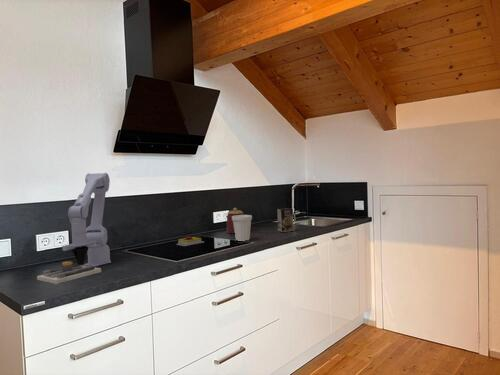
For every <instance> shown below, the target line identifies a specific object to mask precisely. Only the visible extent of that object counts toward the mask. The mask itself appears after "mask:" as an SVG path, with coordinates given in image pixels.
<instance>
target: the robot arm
mask: <svg viewBox="0 0 500 375" xmlns="http://www.w3.org/2000/svg"><path fill="white" fill-rule="evenodd" d="M84 181H85V187H84V188H83V191H82V193H79V195H78V196H77V197H76V198H77V199H76V200H75V201H74V204H73V205H71V206H70V207H69V208H68V211H67V216H68V218H69V223H70V224H71V225H70V226H71V240H72V241H71V243H70V244H65V245H62V246H61V247H62V249H61V250H62V251H64V252H66V251H69V250H71V252H72V254H73V255H74V257H75V259H76V263H77V265H78V264H79V265H84V266H90V267H99V266H102V265H106V264H109V263H112V261H111V256H110V255H111V253H110V252H111V251H110V247H109V245H108V244H107V243H108V230H107V228H106V227H104V226H103V217H104V209H105V200H106V193H108V191H109V188H110V184H111V183H110V176H109V174H108V173H107V172H104V173H100V172H99V173H86V175H85V178H84ZM92 195H94V196H93V198H92ZM92 199H93V203H92ZM91 203H92V204H93V205H92V210H91V211H92V212H91V220H90V225H89V226H87V220H86V219H87V217H88V216H89V210H90V209H89V207H90V204H91ZM86 256H87V263H85V262H84V261H85V258H86Z"/></svg>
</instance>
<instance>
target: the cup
mask: <svg viewBox="0 0 500 375" xmlns="http://www.w3.org/2000/svg"><path fill="white" fill-rule="evenodd" d="M232 220H233V224H234V231H235V234H234V236H235V241H236V240H238V241H245V240H249V239H250V238H251V225H252V220H253V216H252V214H243V215H236V216H232ZM250 240H251V239H250Z"/></svg>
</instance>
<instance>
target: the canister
mask: <svg viewBox="0 0 500 375" xmlns="http://www.w3.org/2000/svg"><path fill="white" fill-rule="evenodd" d="M226 214H227V215H226V216H225V217H226V233H227V234H229V233H235V231H234V224H233V220H232V216H236V215H244V212H243V211H242V210H241V209H240V210H239V209H238V208H237V207H234V208H233V209H232V210H228V212H227V213H226Z"/></svg>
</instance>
